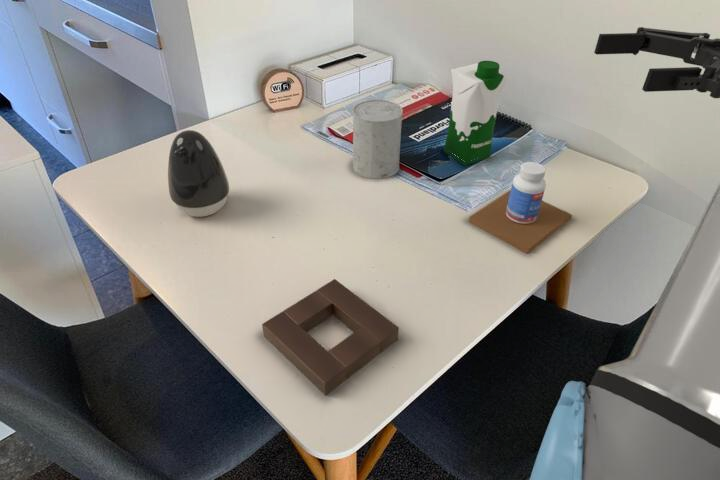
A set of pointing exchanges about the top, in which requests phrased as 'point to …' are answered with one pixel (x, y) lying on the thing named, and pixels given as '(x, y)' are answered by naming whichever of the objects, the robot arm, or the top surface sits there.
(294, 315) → the socket base
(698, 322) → the robot arm
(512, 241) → the cork pad
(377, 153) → the concrete cylinder
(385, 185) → the top surface
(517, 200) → the pill bottle
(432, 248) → the top surface
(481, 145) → the milk carton
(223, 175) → the black egg-shaped figure
